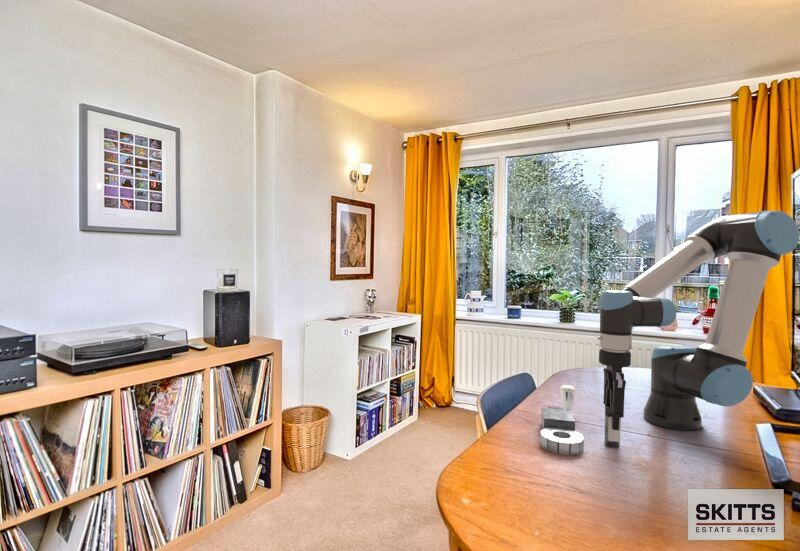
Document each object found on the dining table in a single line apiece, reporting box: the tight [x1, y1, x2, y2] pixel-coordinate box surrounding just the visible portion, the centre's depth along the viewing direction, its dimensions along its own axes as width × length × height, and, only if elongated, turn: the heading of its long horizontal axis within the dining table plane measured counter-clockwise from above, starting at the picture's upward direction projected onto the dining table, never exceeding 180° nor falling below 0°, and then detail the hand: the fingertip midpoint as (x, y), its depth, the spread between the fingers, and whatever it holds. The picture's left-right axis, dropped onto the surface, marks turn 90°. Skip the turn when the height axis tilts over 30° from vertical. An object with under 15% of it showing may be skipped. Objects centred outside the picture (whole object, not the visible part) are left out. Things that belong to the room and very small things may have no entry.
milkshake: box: [559, 383, 579, 415], centre depth 140 cm, size 4×5×10 cm
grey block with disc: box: [539, 406, 585, 456], centre depth 121 cm, size 10×22×5 cm, turn 166°
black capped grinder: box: [603, 405, 621, 449], centre depth 116 cm, size 4×4×10 cm
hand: (612, 437), depth 117 cm, fingers closed on black capped grinder, 4 cm apart
